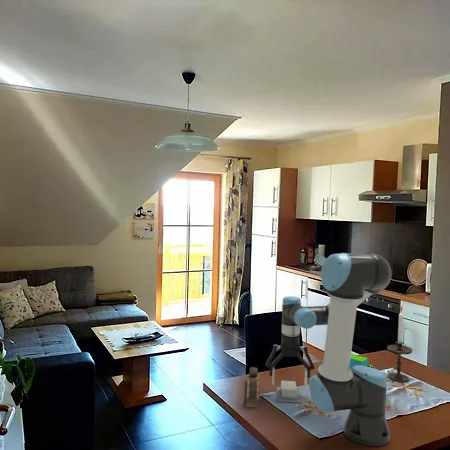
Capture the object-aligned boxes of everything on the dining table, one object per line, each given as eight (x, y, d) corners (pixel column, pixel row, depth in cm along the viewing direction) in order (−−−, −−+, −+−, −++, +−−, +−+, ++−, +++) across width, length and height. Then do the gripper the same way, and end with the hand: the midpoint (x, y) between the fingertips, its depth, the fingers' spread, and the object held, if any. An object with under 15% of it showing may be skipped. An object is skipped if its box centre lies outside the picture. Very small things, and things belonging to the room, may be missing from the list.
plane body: (258, 407, 171) (259, 382, 171) (246, 406, 172) (246, 381, 171) (258, 381, 197) (259, 359, 197) (247, 381, 197) (248, 359, 197)
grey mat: (302, 403, 176) (302, 402, 176) (277, 402, 177) (277, 401, 177) (299, 389, 190) (299, 388, 190) (276, 388, 191) (276, 387, 191)
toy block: (375, 376, 208) (376, 355, 207) (363, 383, 198) (364, 362, 198) (355, 370, 215) (356, 350, 214) (342, 377, 205) (343, 356, 205)
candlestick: (411, 384, 198) (414, 308, 197) (386, 380, 202) (389, 305, 201) (410, 376, 208) (413, 303, 207) (386, 372, 212) (389, 301, 211)
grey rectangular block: (296, 399, 178) (297, 390, 178) (282, 398, 179) (282, 389, 179) (295, 390, 187) (295, 381, 187) (280, 389, 188) (281, 380, 188)
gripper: (319, 332, 185) (318, 382, 185) (260, 330, 187) (259, 379, 187) (322, 337, 177) (320, 389, 178) (260, 335, 179) (259, 386, 180)
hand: (289, 384), depth 183 cm, fingers open, 13 cm apart
